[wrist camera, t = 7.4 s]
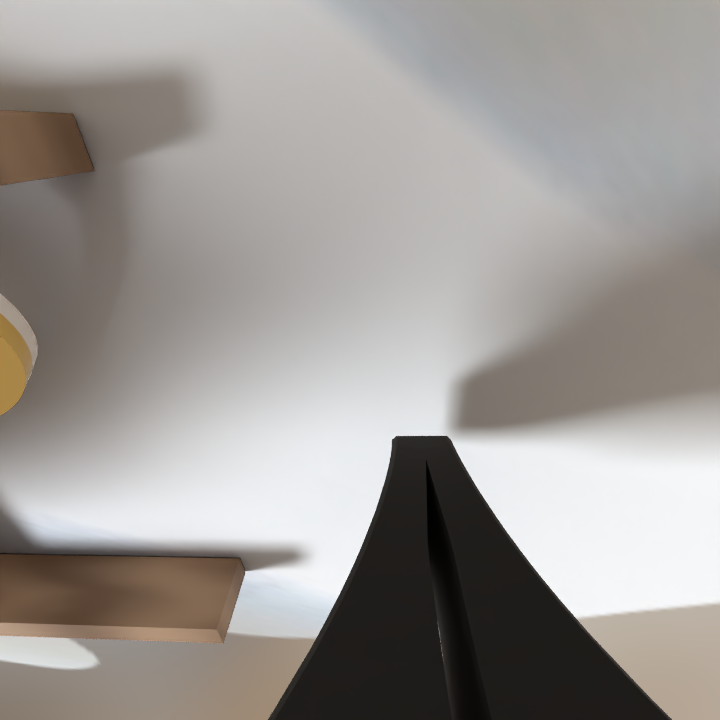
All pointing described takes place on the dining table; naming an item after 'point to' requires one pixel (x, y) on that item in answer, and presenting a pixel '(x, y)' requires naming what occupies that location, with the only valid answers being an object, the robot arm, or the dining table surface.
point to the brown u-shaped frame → (101, 573)
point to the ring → (14, 354)
